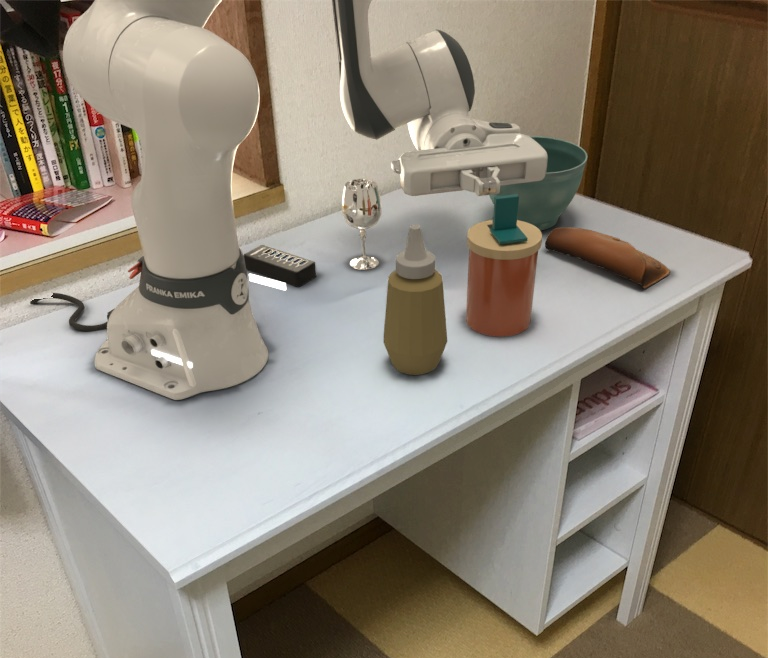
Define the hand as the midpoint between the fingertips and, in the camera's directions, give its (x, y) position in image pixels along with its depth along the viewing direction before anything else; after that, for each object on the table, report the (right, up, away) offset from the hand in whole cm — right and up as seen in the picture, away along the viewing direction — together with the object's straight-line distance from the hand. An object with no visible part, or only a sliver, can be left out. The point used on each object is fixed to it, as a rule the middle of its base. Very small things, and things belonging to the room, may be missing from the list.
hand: (489, 189), depth 106 cm
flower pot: (+10, +6, +29) cm, 31 cm away
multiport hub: (-30, -6, +18) cm, 35 cm away
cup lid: (+2, -8, -2) cm, 8 cm away
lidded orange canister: (+2, -16, +5) cm, 17 cm away
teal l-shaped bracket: (+2, -7, -4) cm, 9 cm away
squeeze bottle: (-10, -23, -2) cm, 25 cm away
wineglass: (-17, -4, +19) cm, 26 cm away
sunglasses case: (+20, -5, +17) cm, 27 cm away
